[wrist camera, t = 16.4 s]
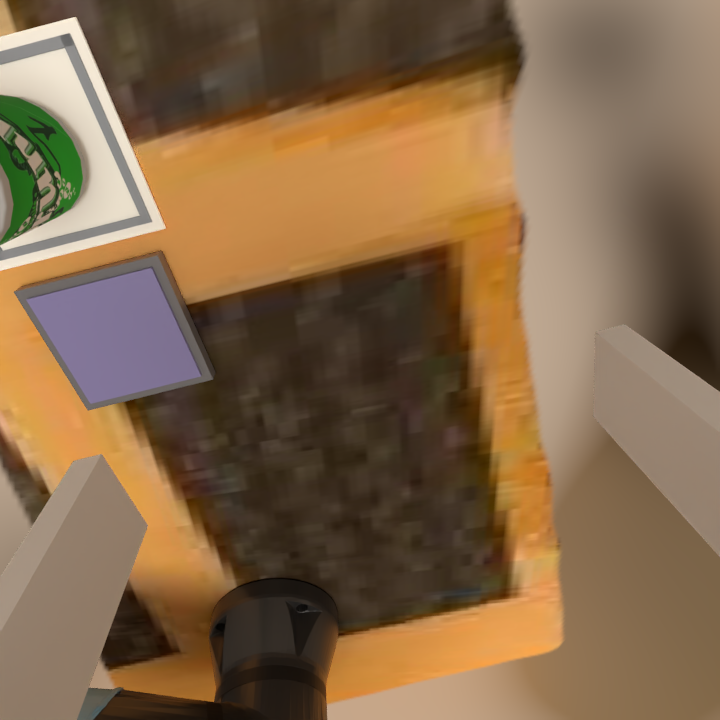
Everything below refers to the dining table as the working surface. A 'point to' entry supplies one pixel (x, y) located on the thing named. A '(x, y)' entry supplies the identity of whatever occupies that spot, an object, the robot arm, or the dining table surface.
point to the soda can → (35, 167)
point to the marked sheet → (95, 139)
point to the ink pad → (119, 330)
